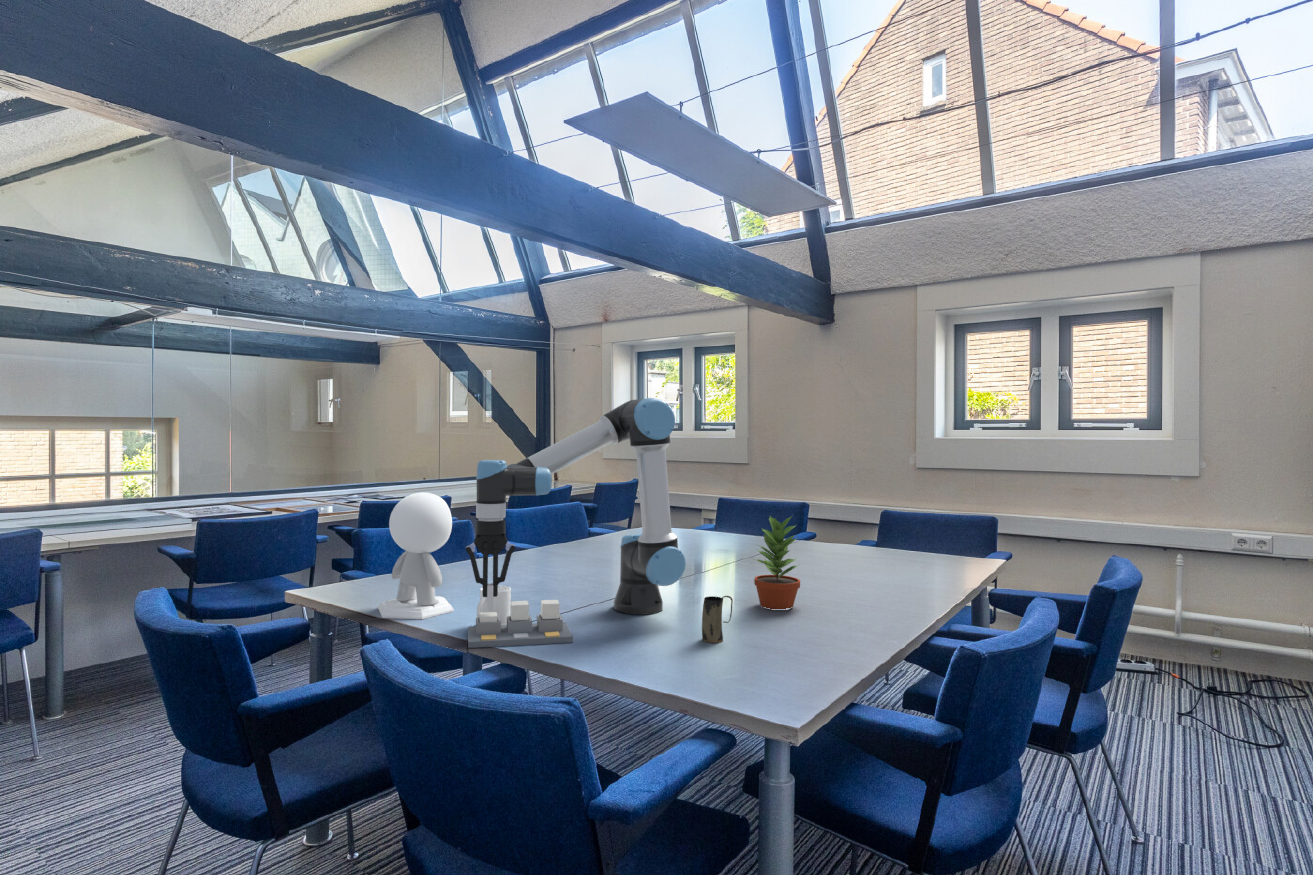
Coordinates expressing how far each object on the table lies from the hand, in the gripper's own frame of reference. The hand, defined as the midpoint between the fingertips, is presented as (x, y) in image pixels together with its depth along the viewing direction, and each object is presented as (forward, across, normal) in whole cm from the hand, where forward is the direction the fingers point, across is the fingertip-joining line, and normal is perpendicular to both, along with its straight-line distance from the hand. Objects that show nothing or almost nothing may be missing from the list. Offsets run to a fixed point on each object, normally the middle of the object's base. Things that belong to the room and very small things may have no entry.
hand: (489, 609), depth 181 cm
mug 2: (+8, -58, +14) cm, 60 cm away
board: (+7, -8, +2) cm, 11 cm away
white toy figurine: (+7, +20, -32) cm, 38 cm away
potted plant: (+9, -90, -17) cm, 92 cm away
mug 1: (+8, 0, -9) cm, 12 cm away
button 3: (+5, 0, 0) cm, 5 cm away
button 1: (+3, -16, 0) cm, 16 cm away
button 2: (+3, -8, 0) cm, 8 cm away
